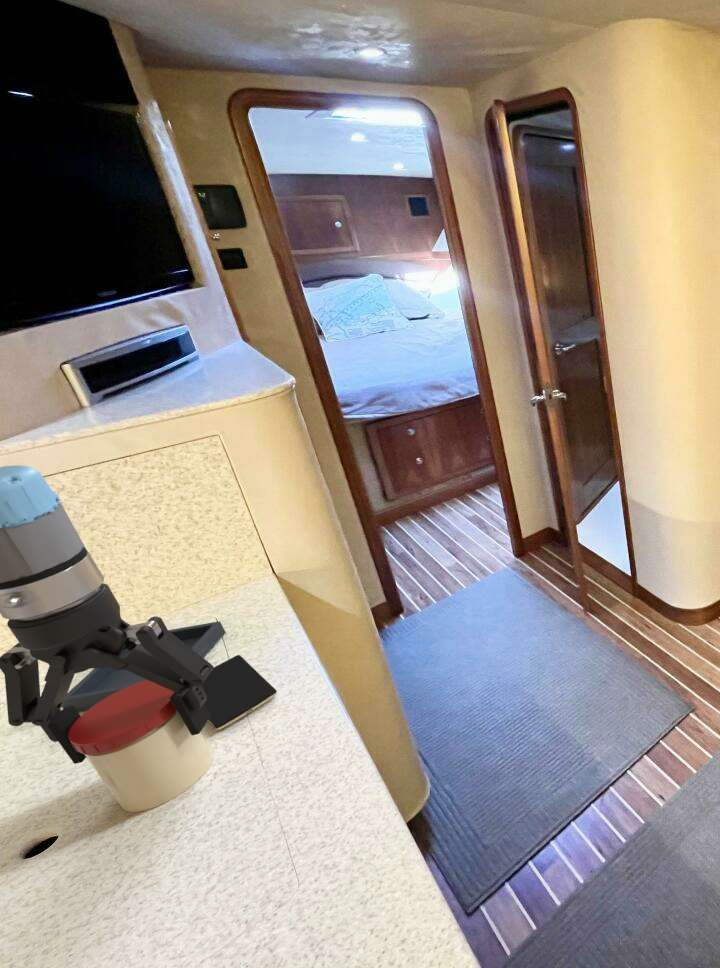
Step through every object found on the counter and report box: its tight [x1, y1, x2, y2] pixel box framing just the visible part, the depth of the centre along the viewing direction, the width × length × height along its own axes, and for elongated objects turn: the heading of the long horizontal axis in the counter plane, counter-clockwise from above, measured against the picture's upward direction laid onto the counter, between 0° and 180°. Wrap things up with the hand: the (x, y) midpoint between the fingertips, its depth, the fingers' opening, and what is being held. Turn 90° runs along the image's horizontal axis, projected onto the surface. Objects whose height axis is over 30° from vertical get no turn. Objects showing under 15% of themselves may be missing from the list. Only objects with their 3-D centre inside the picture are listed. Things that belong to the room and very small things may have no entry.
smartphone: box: [201, 654, 278, 731], centre depth 82 cm, size 7×1×15 cm
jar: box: [84, 710, 215, 813], centre depth 68 cm, size 9×9×12 cm
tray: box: [61, 620, 227, 713], centre depth 87 cm, size 14×14×3 cm
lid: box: [68, 680, 177, 754], centre depth 66 cm, size 10×10×2 cm
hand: (145, 739), depth 67 cm, fingers open, 11 cm apart
